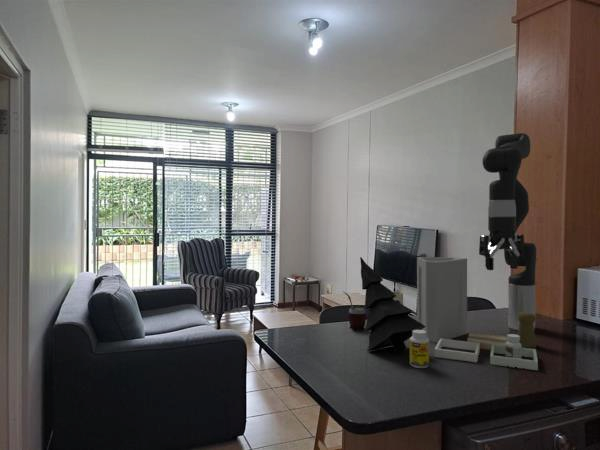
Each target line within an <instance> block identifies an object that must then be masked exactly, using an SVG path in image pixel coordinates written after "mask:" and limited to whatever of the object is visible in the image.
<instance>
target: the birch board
mask: <svg viewBox="0 0 600 450" xmlns="http://www.w3.org/2000/svg"><path fill="white" fill-rule="evenodd" d="M466 341H467V342H476V343H480V350H484V351H485V350H486V351H491V347H492V344H493V345H502V346H505V344H506V342H507V341H508V340H507V335H498V334H488V333H479V332H469V334H468V336H467V340H466Z"/></svg>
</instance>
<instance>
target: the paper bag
mask: <svg viewBox="0 0 600 450" xmlns="http://www.w3.org/2000/svg"><path fill="white" fill-rule="evenodd" d="M416 279H417V280H416V285H417V286H416V321H418V322H420V323H421V324H423V325H424V326H426V327H425V328H423V329H422V330H424V331H426V335H427V336H426V337H427V338H428V339H429V342H432V343H436V344H438V342H439V340H440V338H441V339H450V340H452V339H454V338H457V337H461V336H463V335H467V334H468V258H466V257H447V256H446V257H441V256H440V257H439V256H438V257H437V256H433V257H432V256H424V257H423V256H420V257H419V256H418V257H416Z"/></svg>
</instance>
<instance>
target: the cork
mask: <svg viewBox="0 0 600 450" xmlns="http://www.w3.org/2000/svg"><path fill="white" fill-rule="evenodd" d="M518 320H519V322H520V323H519V330H517V335H519V336H520V341H519V343H521V345H522V348H526V347H527V348H529V349H534V348H536V347H537V339H536V334H535V333H536V332H535V330H534V325H533V323H534V322H535V323H536V315H535V316H534V314H532V313H528V312H521V313H519V314H518ZM533 347H534V348H533Z"/></svg>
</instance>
